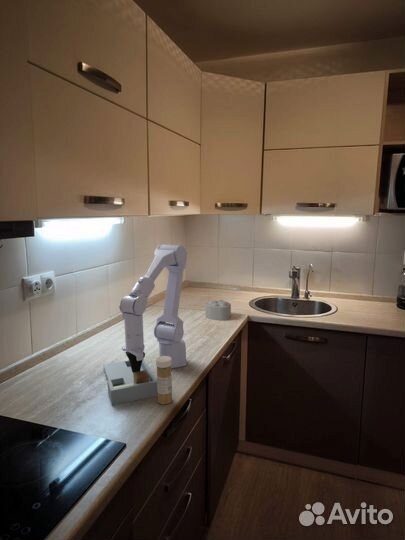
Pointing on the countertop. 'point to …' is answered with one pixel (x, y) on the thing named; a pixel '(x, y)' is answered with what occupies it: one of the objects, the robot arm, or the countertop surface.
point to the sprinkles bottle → (164, 379)
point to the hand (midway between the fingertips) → (136, 373)
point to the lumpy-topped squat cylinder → (218, 310)
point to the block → (141, 377)
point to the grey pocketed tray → (128, 383)
